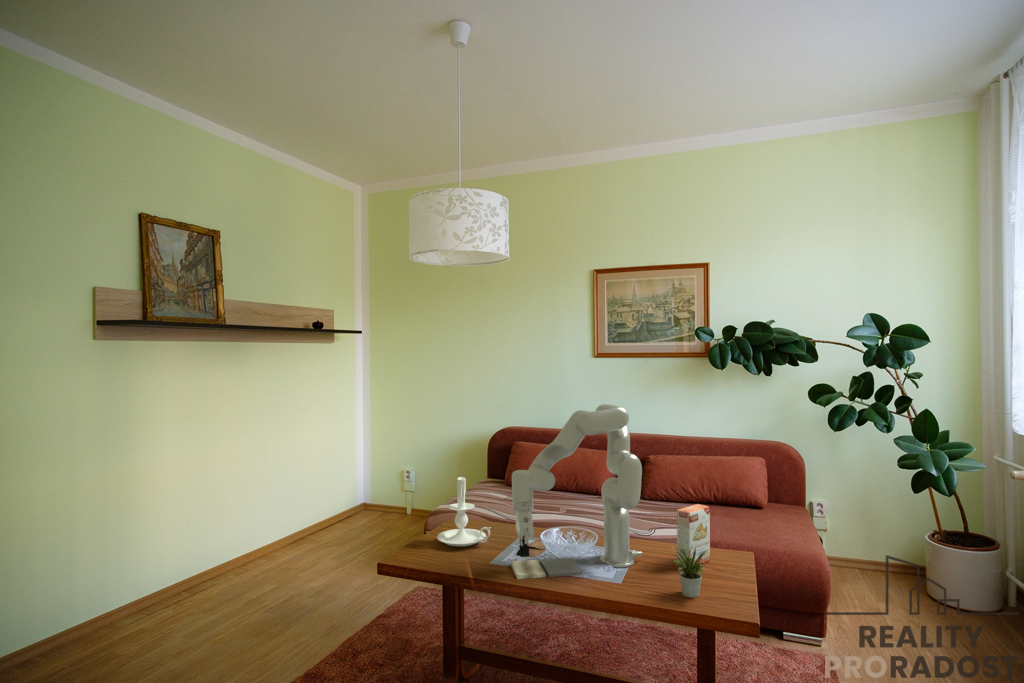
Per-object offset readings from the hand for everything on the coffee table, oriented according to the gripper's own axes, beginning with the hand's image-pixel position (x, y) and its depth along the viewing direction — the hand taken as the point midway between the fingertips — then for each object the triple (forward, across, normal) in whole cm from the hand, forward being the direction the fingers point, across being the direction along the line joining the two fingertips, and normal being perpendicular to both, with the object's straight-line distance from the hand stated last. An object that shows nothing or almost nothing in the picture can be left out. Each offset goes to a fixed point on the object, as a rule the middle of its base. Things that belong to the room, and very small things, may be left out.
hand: (524, 556), depth 202 cm
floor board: (+7, 0, -13) cm, 15 cm away
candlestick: (+6, +37, +18) cm, 42 cm away
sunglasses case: (+7, +21, -9) cm, 24 cm away
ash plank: (+6, 0, -1) cm, 6 cm away
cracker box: (+8, -2, -65) cm, 65 cm away
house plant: (+8, -27, -49) cm, 56 cm away
